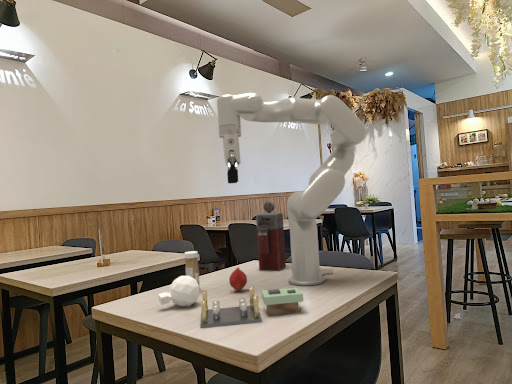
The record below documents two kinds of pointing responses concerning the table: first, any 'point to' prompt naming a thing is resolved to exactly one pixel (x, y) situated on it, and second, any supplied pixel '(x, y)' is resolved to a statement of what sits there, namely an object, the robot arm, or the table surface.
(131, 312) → the table surface
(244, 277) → the onion
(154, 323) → the table surface
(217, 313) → the chassis
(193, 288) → the perfume bottle
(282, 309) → the walnut stand
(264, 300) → the board
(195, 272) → the sprinkles bottle
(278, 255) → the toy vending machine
